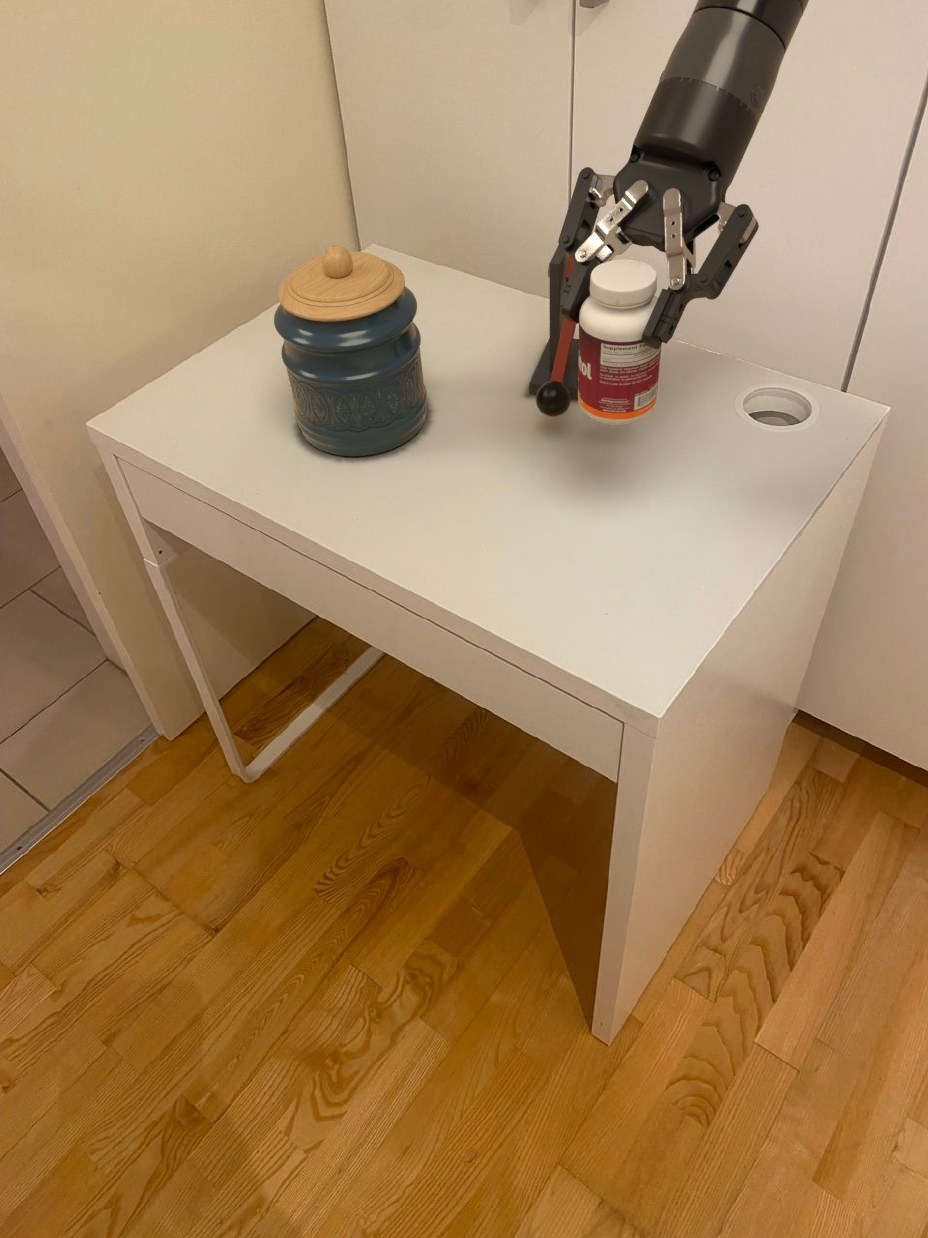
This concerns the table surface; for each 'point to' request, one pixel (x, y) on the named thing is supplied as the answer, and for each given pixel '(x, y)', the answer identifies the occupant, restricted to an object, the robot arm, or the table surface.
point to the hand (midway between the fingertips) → (608, 330)
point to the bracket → (557, 331)
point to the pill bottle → (618, 344)
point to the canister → (352, 353)
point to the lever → (558, 370)
